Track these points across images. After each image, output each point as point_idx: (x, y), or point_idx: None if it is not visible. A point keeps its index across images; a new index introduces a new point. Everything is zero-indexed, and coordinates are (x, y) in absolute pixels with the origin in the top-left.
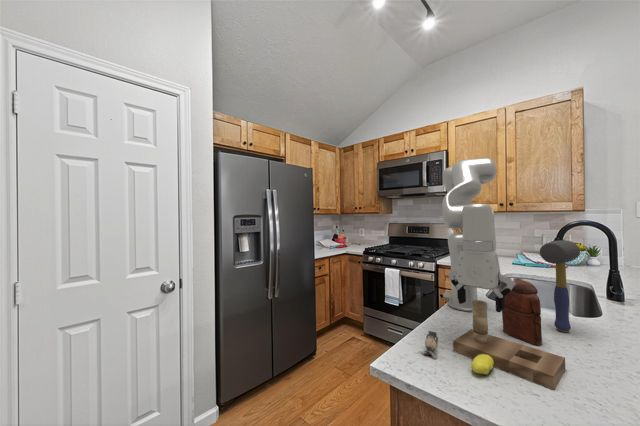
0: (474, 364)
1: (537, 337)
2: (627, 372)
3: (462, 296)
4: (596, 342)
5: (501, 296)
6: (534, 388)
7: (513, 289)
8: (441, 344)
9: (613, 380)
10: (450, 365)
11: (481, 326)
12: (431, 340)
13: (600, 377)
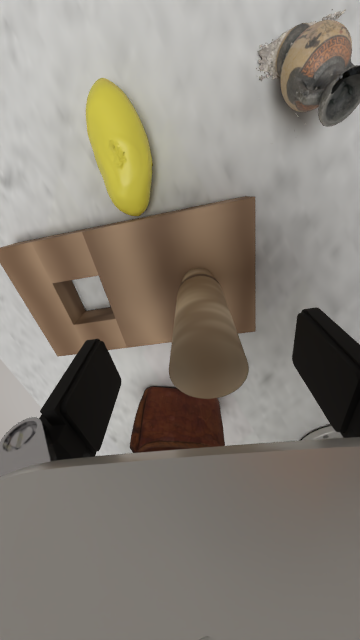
0: (108, 85)
1: (143, 401)
2: (40, 398)
3: (320, 355)
4: (114, 449)
5: (23, 433)
6: (29, 208)
7: None
8: (295, 203)
9: (26, 363)
10: (200, 76)
11: (185, 290)
12: (318, 37)
13: (37, 358)
